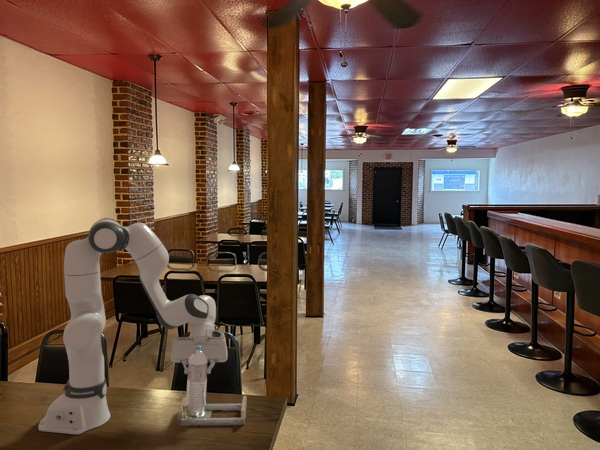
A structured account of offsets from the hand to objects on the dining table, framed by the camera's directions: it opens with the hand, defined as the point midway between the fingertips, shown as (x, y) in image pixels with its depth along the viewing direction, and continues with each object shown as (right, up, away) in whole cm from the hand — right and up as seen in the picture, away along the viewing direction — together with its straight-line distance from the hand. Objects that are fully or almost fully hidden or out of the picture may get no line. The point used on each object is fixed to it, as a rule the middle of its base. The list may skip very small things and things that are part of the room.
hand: (197, 373), depth 159 cm
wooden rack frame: (+5, -17, +2) cm, 17 cm away
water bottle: (-1, -15, +2) cm, 16 cm away
